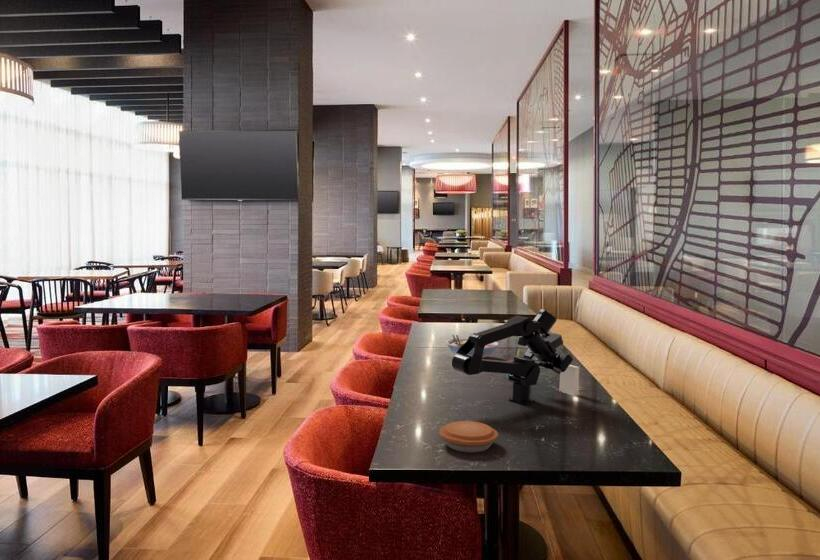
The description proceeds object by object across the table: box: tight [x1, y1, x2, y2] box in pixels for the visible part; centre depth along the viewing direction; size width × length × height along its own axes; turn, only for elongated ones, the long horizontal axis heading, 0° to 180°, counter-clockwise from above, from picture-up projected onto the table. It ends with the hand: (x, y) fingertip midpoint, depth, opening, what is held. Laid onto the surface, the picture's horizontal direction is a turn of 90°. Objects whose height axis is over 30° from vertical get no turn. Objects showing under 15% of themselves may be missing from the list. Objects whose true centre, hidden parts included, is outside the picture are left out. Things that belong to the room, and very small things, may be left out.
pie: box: [438, 420, 499, 454], centre depth 161 cm, size 16×16×5 cm
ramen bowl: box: [445, 334, 499, 359], centre depth 268 cm, size 25×23×8 cm
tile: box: [558, 364, 580, 397], centre depth 215 cm, size 2×7×10 cm, turn 31°
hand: (559, 373), depth 212 cm, fingers closed
